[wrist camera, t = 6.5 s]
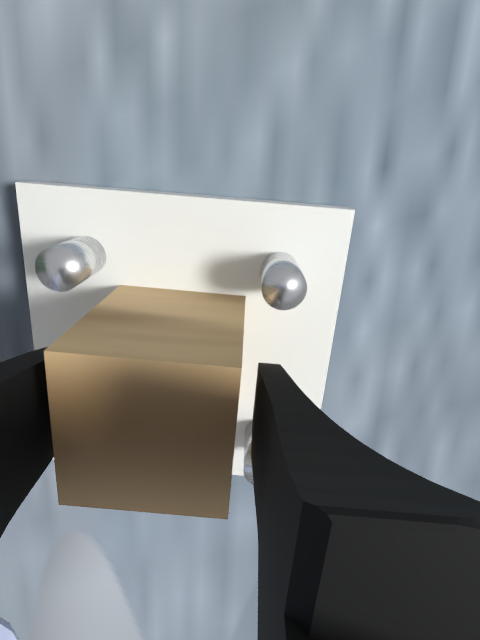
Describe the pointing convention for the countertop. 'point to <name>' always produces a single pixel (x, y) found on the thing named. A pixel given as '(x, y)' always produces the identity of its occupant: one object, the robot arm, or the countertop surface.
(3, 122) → the countertop surface
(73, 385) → the block
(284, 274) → the plate
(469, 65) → the countertop surface
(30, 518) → the countertop surface
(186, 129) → the countertop surface
